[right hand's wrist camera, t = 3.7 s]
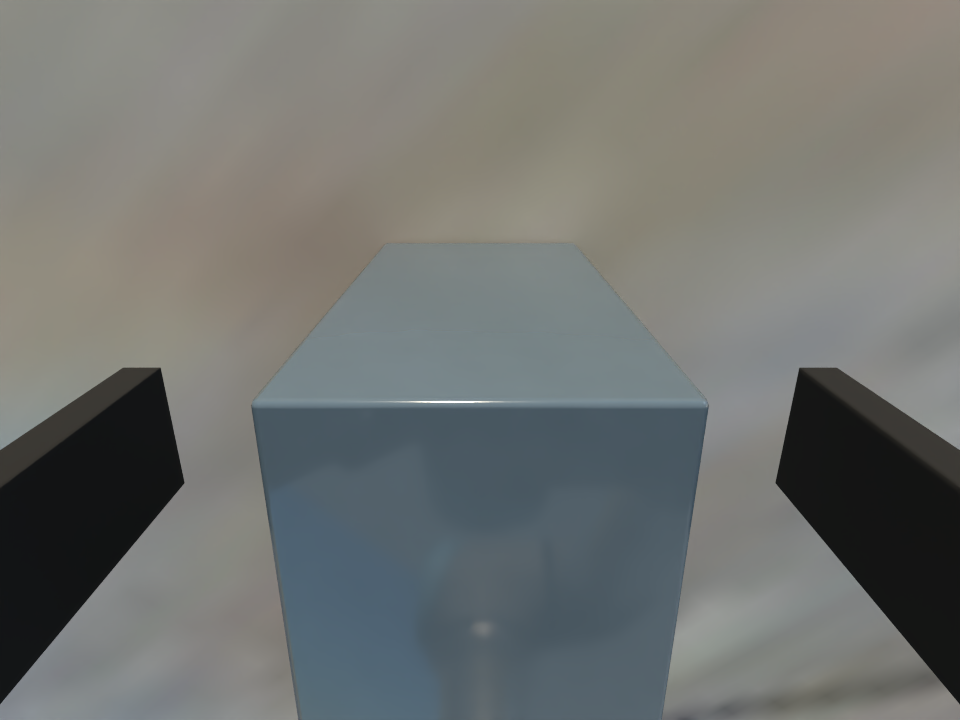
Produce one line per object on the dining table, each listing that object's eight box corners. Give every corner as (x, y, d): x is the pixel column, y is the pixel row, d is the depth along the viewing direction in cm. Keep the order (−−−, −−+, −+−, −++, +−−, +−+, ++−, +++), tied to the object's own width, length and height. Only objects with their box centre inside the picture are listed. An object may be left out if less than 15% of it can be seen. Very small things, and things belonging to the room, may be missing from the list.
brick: (384, 242, 16) (246, 400, 6) (575, 242, 16) (712, 400, 6) (396, 455, 18) (307, 798, 9) (563, 455, 18) (653, 798, 9)
